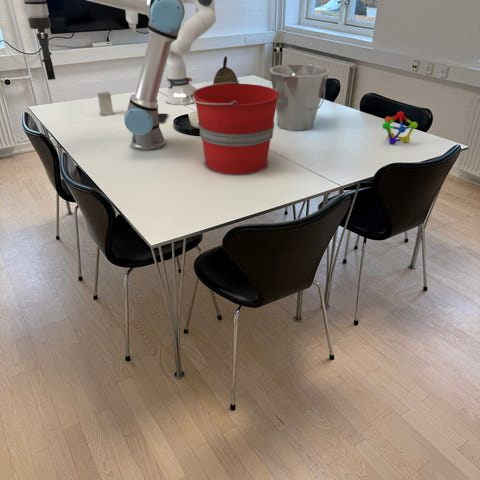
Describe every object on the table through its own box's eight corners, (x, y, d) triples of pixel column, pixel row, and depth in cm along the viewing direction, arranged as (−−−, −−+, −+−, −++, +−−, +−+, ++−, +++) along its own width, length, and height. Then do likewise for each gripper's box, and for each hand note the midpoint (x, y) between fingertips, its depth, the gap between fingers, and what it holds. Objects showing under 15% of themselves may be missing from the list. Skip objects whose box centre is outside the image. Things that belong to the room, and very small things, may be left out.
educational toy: (377, 146, 209) (379, 114, 202) (384, 138, 219) (386, 107, 211) (411, 149, 202) (415, 116, 195) (417, 141, 212) (420, 109, 204)
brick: (100, 113, 250) (97, 93, 244) (111, 112, 252) (108, 91, 246) (102, 115, 246) (98, 94, 240) (113, 114, 248) (110, 93, 242)
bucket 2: (296, 138, 215) (301, 78, 201) (255, 124, 234) (256, 68, 219) (335, 125, 232) (342, 70, 217) (294, 113, 251) (297, 61, 236)
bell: (227, 105, 294) (202, 96, 282) (238, 66, 289) (213, 55, 277) (243, 108, 280) (217, 98, 268) (255, 66, 275) (229, 55, 263)
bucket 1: (198, 147, 204) (194, 79, 188) (274, 148, 203) (277, 80, 187) (188, 177, 175) (183, 101, 159) (277, 179, 174) (281, 102, 158)
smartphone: (149, 121, 235) (154, 113, 247) (150, 122, 235) (155, 114, 248) (163, 121, 235) (167, 113, 247) (163, 123, 235) (168, 114, 248)
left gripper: (27, 14, 174) (40, 70, 185) (27, 20, 155) (41, 83, 166) (47, 13, 177) (59, 69, 188) (50, 19, 157) (62, 81, 168)
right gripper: (122, 4, 278) (125, 29, 285) (128, 7, 262) (130, 33, 269) (132, 4, 280) (134, 28, 288) (138, 7, 264) (141, 32, 271)
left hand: (51, 76), depth 177 cm, fingers open, 13 cm apart
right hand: (132, 30), depth 278 cm, fingers open, 8 cm apart
